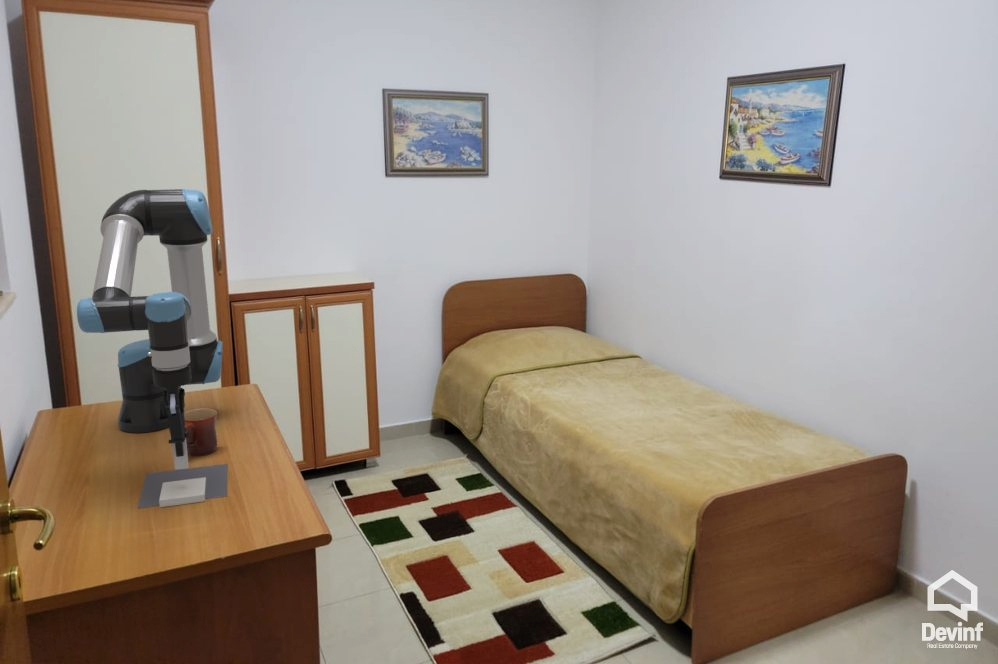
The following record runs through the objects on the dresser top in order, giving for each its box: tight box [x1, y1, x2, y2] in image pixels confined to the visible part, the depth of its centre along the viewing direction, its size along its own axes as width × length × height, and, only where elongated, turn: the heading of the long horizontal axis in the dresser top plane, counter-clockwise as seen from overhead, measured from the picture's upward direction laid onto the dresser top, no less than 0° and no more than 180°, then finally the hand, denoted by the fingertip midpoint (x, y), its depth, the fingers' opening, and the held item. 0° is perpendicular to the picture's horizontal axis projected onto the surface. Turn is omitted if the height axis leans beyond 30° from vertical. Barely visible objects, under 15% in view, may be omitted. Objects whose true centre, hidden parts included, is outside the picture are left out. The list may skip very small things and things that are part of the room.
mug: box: [184, 407, 218, 457], centre depth 182 cm, size 12×9×10 cm
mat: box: [137, 463, 229, 509], centre depth 166 cm, size 18×18×1 cm
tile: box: [159, 477, 206, 508], centre depth 161 cm, size 2×9×9 cm
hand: (181, 467), depth 161 cm, fingers closed
